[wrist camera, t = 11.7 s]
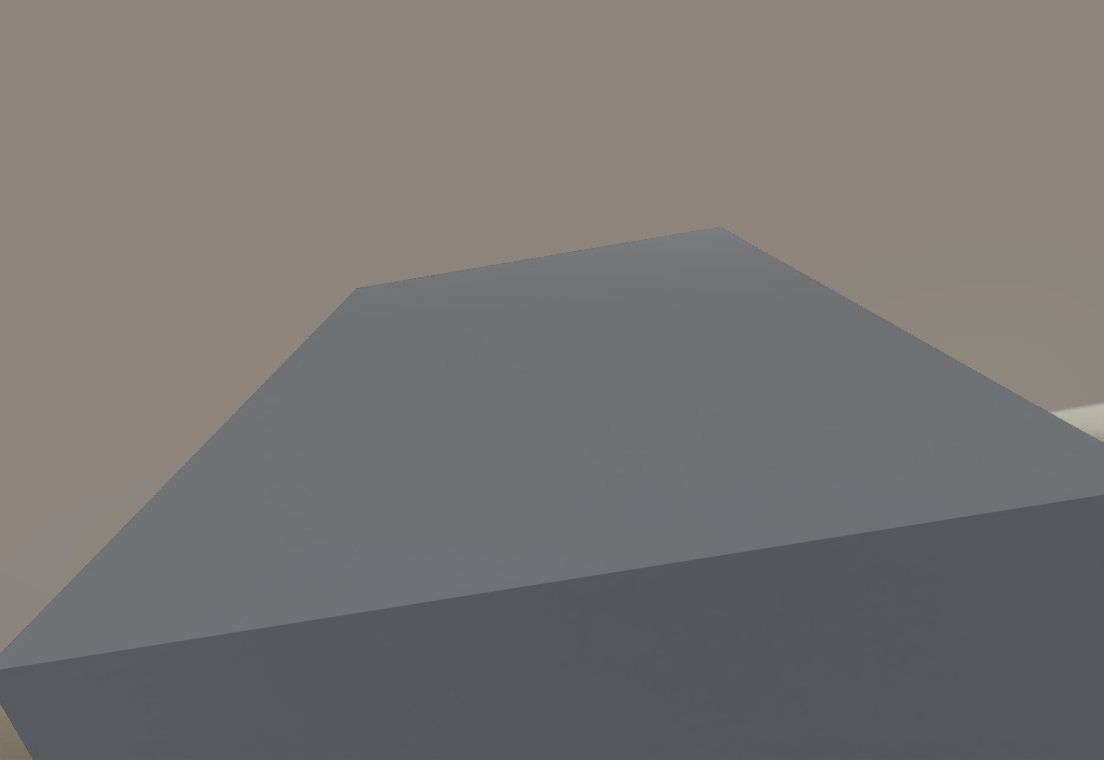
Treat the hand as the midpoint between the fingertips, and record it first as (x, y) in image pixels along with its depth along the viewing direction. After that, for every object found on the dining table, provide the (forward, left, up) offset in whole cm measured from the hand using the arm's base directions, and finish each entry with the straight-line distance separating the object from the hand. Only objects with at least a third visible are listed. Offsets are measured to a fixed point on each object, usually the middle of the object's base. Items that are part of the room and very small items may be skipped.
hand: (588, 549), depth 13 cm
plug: (0, +5, -9) cm, 10 cm away
